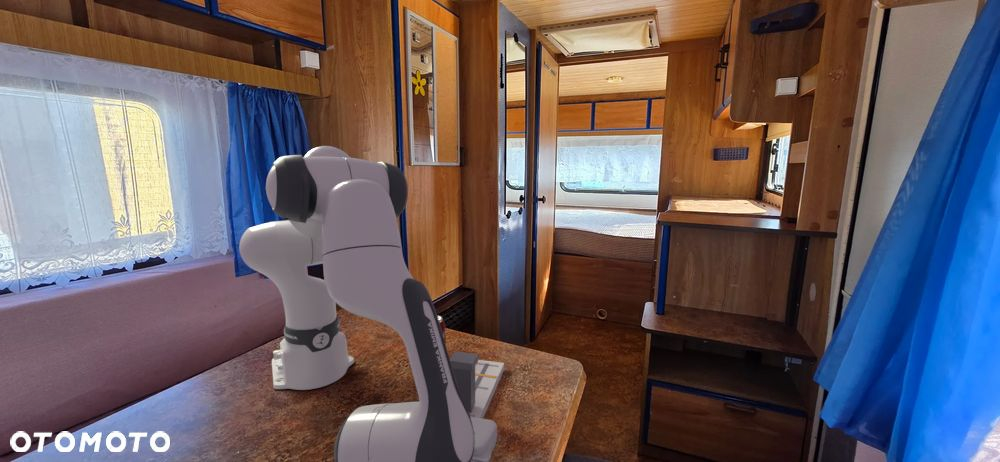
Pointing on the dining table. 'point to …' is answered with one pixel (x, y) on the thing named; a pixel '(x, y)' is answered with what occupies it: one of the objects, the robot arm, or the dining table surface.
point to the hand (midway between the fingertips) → (453, 404)
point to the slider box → (485, 385)
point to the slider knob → (465, 376)
